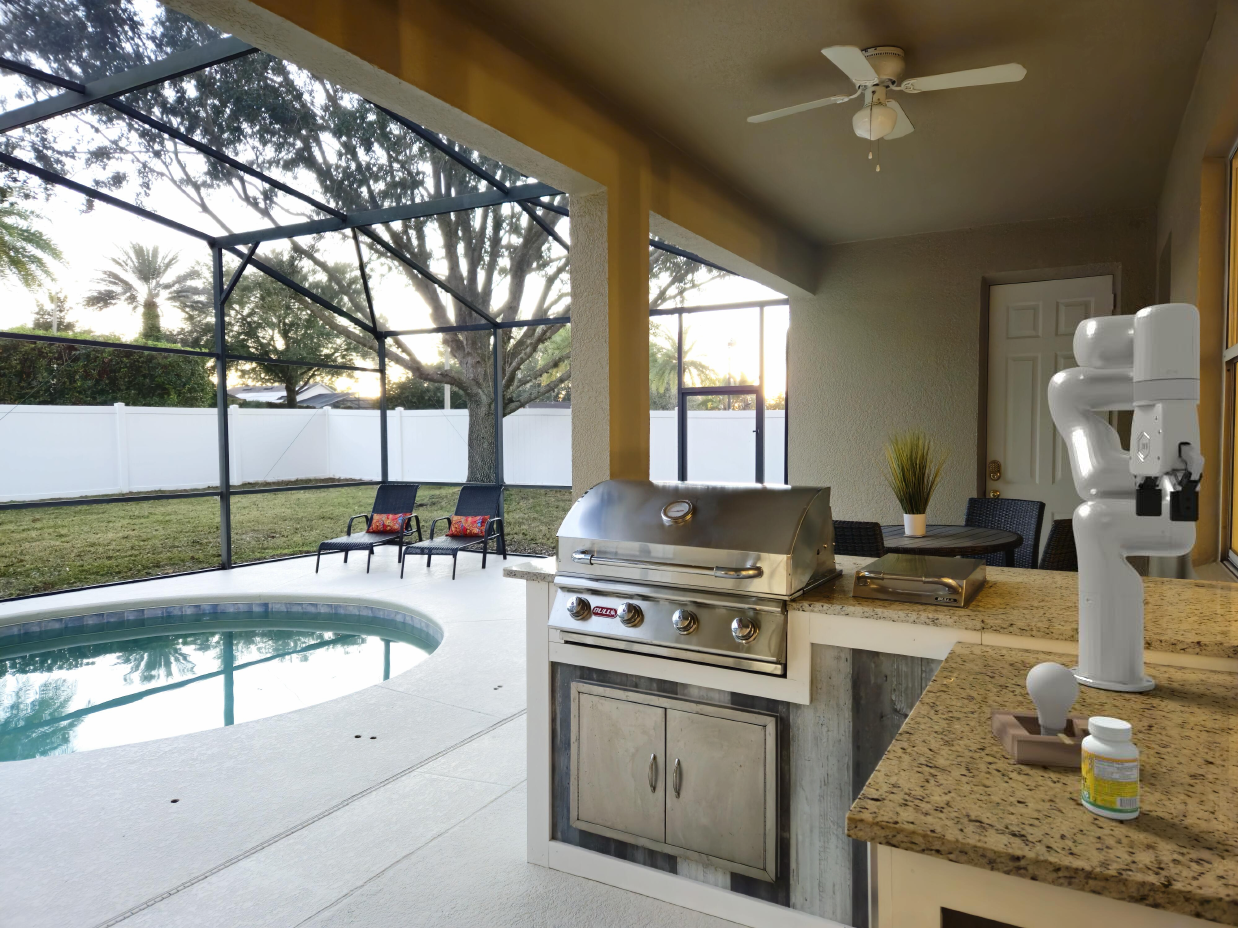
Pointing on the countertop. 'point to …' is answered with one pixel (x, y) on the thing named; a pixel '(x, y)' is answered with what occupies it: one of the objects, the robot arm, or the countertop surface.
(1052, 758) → the socket block
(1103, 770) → the supplement bottle
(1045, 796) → the countertop surface
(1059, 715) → the lightbulb
